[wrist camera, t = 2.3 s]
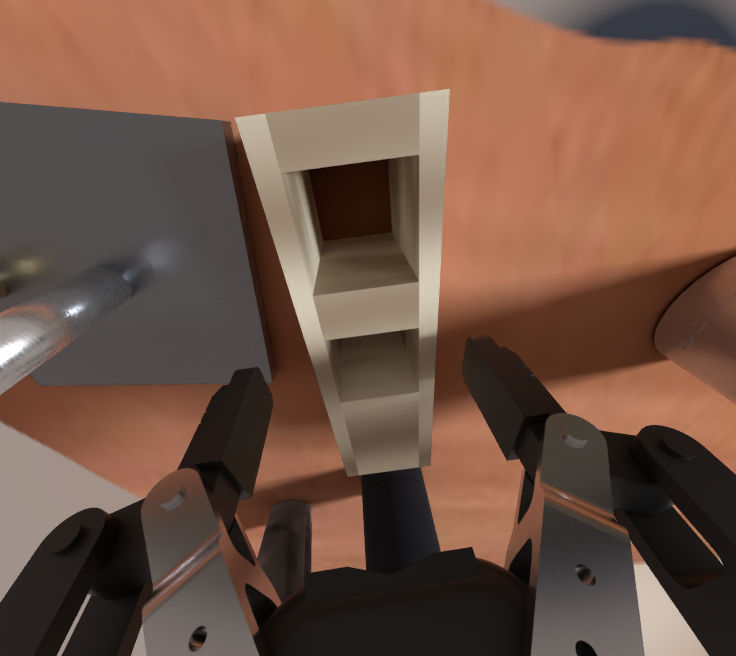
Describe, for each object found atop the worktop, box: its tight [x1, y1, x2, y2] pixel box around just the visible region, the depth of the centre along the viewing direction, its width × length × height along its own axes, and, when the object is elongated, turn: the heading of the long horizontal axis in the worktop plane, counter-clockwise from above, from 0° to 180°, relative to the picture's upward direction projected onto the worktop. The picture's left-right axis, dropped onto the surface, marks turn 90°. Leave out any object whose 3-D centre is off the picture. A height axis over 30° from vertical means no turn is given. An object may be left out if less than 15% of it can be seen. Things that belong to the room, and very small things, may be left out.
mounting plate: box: [0, 102, 276, 395], centre depth 11 cm, size 14×14×8 cm
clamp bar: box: [235, 89, 450, 477], centre depth 14 cm, size 17×5×6 cm, turn 6°
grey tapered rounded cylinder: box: [257, 500, 312, 603], centre depth 23 cm, size 7×7×20 cm
